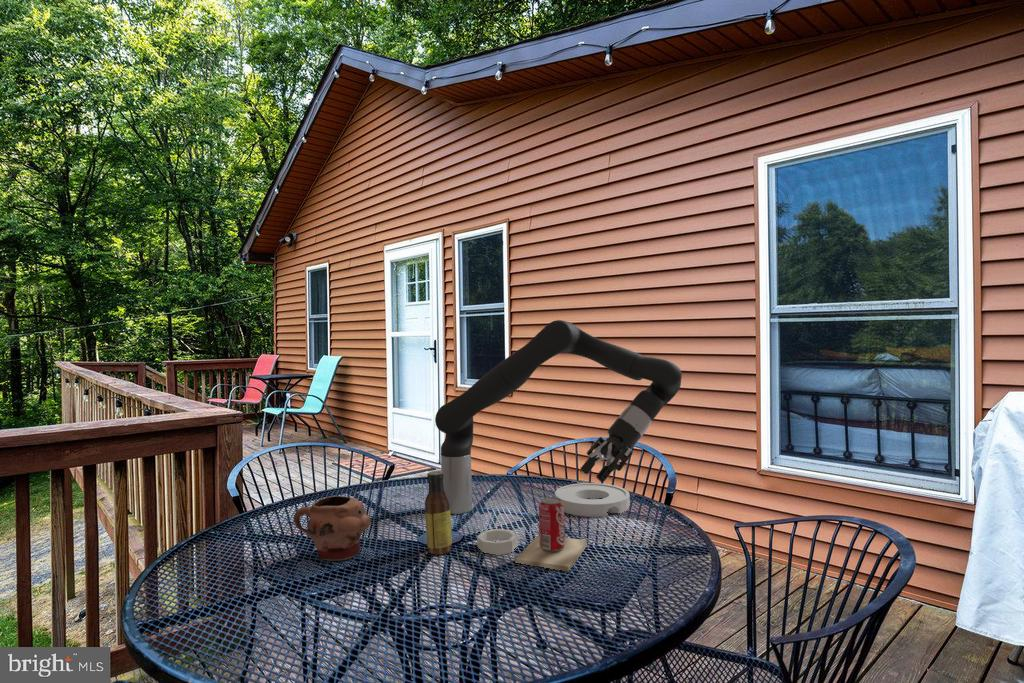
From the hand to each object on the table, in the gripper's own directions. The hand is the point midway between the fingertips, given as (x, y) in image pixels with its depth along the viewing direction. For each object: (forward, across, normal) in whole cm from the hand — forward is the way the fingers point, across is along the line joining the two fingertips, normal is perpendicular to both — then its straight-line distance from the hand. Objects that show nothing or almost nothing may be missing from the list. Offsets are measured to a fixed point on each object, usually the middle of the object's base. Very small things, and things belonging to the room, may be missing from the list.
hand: (591, 475), depth 144 cm
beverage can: (+20, -1, +5) cm, 20 cm away
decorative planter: (+56, -21, -31) cm, 67 cm away
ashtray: (+2, -31, +25) cm, 40 cm away
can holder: (+28, -10, -3) cm, 30 cm away
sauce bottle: (+39, -13, -13) cm, 43 cm away
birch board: (+20, 0, +5) cm, 21 cm away
